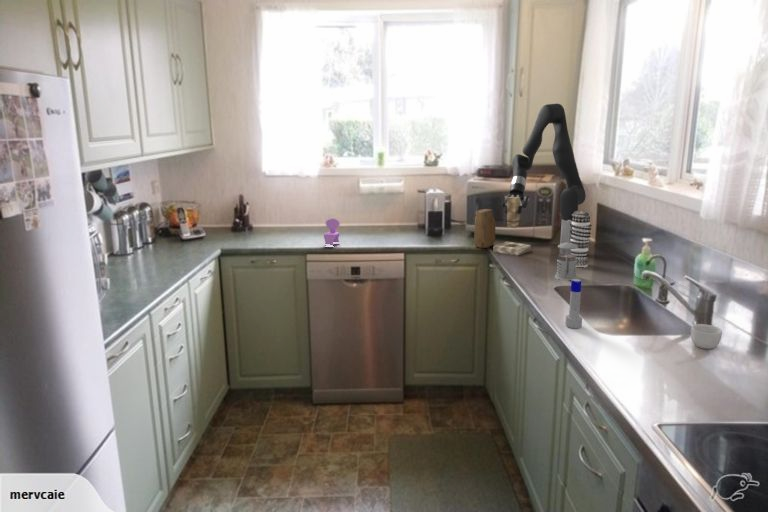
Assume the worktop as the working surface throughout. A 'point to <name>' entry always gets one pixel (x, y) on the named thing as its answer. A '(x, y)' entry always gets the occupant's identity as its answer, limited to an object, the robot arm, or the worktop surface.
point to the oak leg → (513, 211)
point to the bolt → (574, 305)
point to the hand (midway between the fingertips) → (512, 213)
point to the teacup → (706, 336)
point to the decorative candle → (580, 237)
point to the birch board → (511, 248)
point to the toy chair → (332, 232)
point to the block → (484, 228)
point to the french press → (567, 261)
